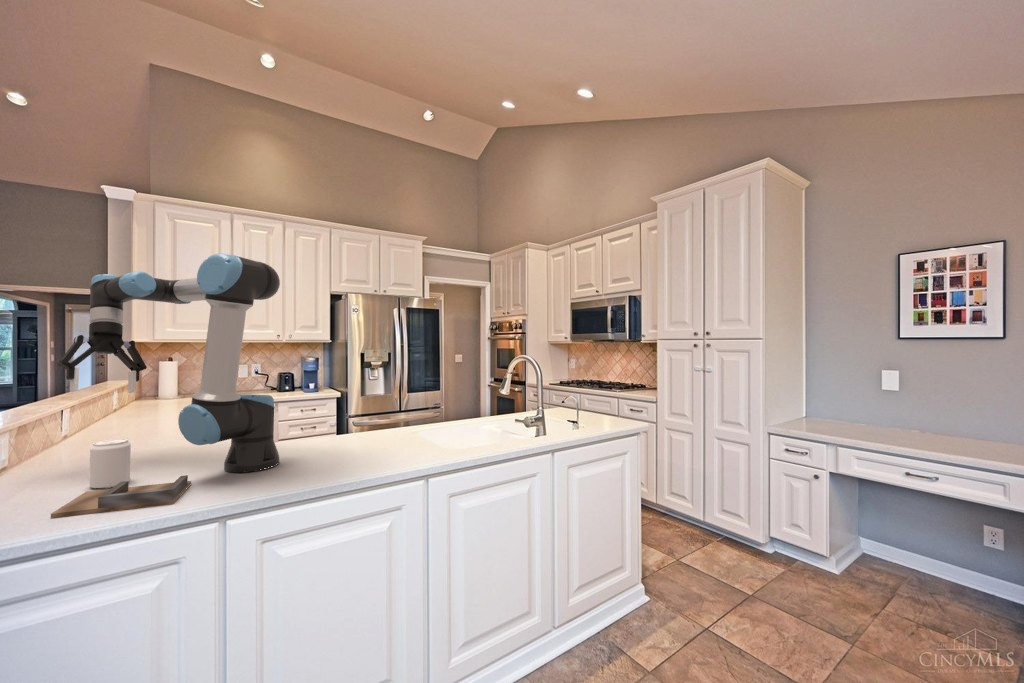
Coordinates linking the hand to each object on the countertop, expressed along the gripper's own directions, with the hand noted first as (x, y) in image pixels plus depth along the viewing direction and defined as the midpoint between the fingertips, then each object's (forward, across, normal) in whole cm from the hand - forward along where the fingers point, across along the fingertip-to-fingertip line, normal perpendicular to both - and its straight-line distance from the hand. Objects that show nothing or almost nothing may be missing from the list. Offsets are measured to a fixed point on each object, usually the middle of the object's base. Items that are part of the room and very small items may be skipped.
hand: (104, 391), depth 128 cm
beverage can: (+28, +1, +8) cm, 29 cm away
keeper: (+33, +5, +25) cm, 42 cm away
